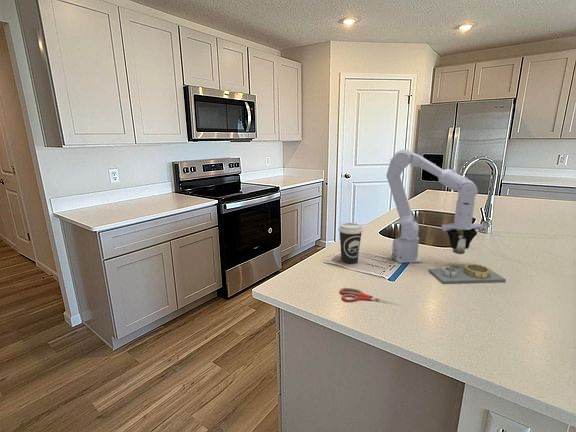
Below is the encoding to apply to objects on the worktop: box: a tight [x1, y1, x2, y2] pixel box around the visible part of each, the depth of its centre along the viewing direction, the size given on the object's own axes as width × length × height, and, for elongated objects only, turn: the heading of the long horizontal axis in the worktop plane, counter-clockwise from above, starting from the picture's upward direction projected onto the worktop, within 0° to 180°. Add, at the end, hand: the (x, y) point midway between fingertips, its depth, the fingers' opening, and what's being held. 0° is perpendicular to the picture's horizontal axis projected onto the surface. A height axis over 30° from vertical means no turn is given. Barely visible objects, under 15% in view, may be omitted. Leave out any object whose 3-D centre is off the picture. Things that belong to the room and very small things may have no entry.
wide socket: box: [463, 263, 492, 279], centre depth 110 cm, size 8×8×2 cm
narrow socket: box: [441, 265, 458, 278], centre depth 110 cm, size 5×5×2 cm
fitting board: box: [428, 267, 507, 285], centre depth 111 cm, size 22×10×1 cm, turn 92°
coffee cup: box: [338, 222, 364, 265], centre depth 124 cm, size 10×10×15 cm
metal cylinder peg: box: [452, 236, 467, 255], centre depth 117 cm, size 4×4×6 cm
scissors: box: [339, 287, 403, 307], centre depth 97 cm, size 8×21×2 cm, turn 77°
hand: (459, 248), depth 118 cm, fingers closed on metal cylinder peg, 4 cm apart
